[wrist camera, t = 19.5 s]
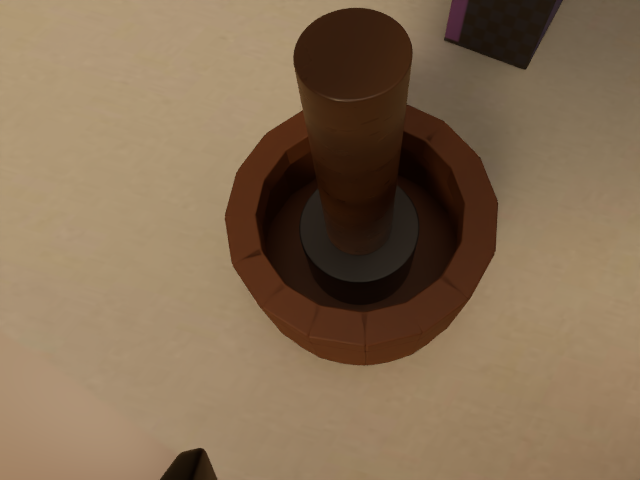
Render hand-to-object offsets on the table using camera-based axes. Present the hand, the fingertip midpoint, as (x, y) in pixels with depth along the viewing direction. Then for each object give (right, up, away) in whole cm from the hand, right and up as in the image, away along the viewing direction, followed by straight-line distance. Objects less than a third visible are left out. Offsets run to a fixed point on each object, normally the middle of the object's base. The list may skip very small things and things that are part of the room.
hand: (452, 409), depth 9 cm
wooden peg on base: (-1, +2, +14) cm, 14 cm away
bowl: (0, +2, +15) cm, 15 cm away
